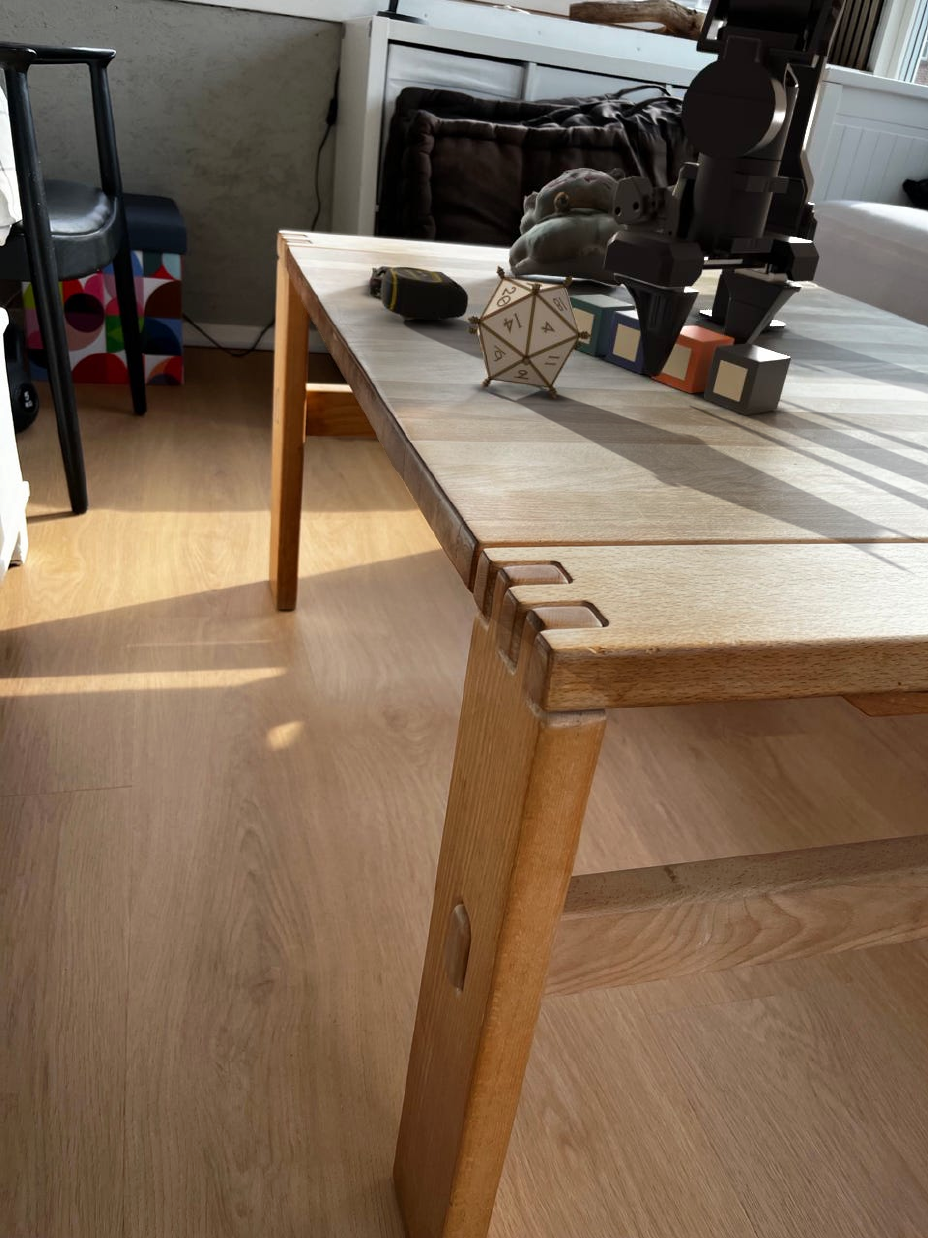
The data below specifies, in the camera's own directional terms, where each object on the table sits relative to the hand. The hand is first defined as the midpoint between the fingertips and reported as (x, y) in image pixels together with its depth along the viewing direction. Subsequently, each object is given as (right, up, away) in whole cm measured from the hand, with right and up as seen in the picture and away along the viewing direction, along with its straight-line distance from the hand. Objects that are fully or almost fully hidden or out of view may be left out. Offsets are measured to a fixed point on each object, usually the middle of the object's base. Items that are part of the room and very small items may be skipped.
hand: (690, 370), depth 80 cm
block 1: (-7, +4, +7) cm, 10 cm away
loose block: (0, -1, +1) cm, 1 cm away
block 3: (+3, -3, -3) cm, 5 cm away
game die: (-14, -3, -6) cm, 15 cm away
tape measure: (-21, +7, +10) cm, 24 cm away
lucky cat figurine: (-7, +18, +33) cm, 39 cm away
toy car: (-25, +12, +17) cm, 33 cm away
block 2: (-3, +1, +4) cm, 5 cm away
